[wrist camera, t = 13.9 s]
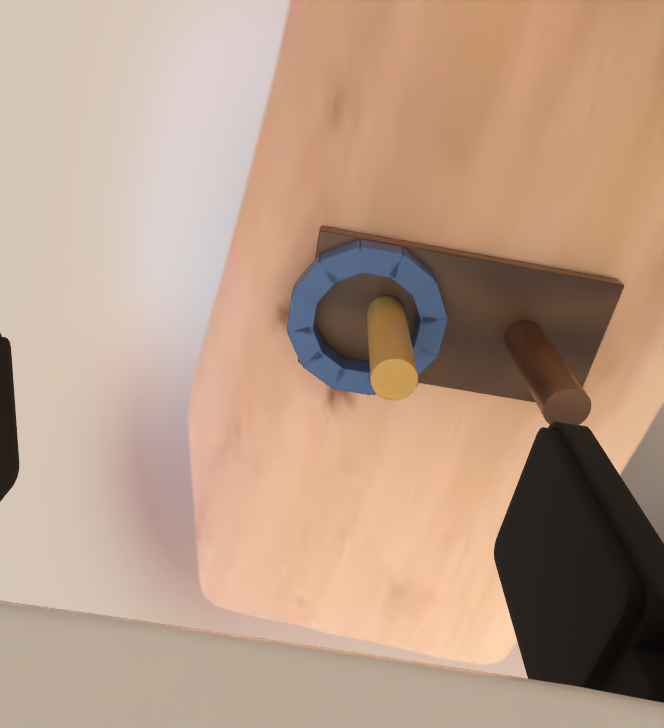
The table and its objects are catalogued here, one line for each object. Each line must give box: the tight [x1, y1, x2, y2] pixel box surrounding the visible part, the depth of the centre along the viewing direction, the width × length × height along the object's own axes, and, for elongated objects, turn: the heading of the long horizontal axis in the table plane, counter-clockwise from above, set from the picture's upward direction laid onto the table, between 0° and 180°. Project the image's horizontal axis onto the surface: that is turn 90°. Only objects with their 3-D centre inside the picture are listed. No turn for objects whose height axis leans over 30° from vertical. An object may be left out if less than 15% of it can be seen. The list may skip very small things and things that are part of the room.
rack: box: [298, 226, 624, 425], centre depth 35 cm, size 9×19×10 cm, turn 80°
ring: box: [287, 240, 448, 395], centre depth 38 cm, size 10×10×2 cm
